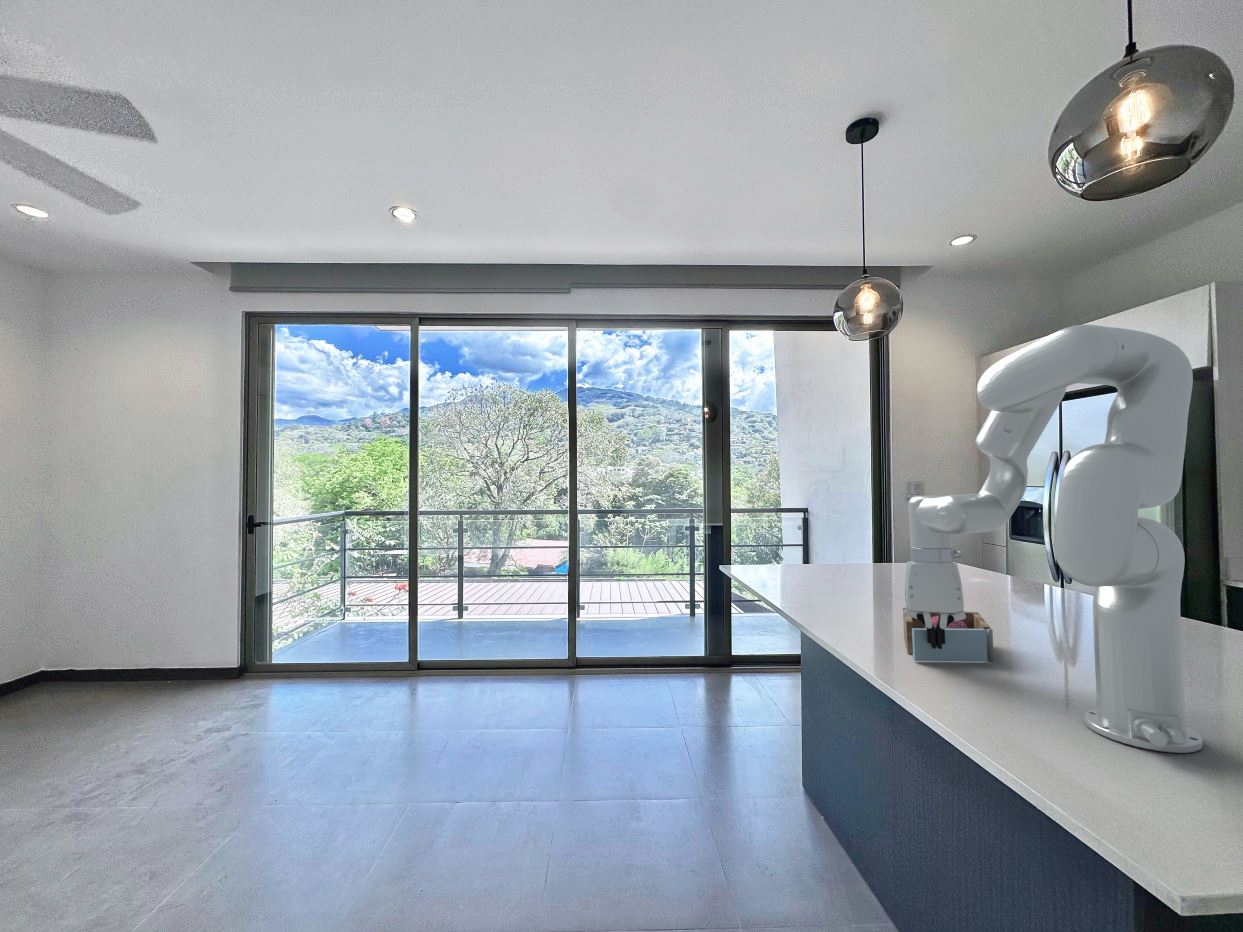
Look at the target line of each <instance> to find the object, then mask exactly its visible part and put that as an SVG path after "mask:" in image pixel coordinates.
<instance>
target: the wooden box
mask: <svg viewBox="0 0 1243 932" xmlns="http://www.w3.org/2000/svg"><path fill="white" fill-rule="evenodd" d="M905 609H906V607H903V608H902V618H903V637H904V638H903V639H904V643H905V644H904V645H905V648H906V653H907V652H908V653H909V654H908V653H907V654H908V655H913V642H912V628H925V625H924V624H923V623H922V622H921V621H920V620H918V619H916V618H912V617H909V616H906V615H905ZM964 612H965V615H966V618H965V619H962V620H961V621H963V623H965V624H966V625H967V627H968V628H967V629H985V630H986V638H987V629H991V627H990V625H989V624H988V623H987V621H986V620H985V619H984V617H982V615H981V614H980V613H979V612H977V611H975V612H973V611H964ZM920 613H922V612H920ZM930 616H931V618H932V617H933V616H939V613H930ZM987 661H988V649H987ZM988 662H989V663H991V662H990V661H988ZM988 662H987V663H988Z"/></svg>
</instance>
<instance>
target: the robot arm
mask: <svg viewBox="0 0 1243 932" xmlns="http://www.w3.org/2000/svg"><path fill="white" fill-rule="evenodd" d="M1193 374H1194V373H1193V367H1192V365H1191V362H1190V360H1189V358H1188V356H1187V355H1186V353H1185V352H1184V351H1183V350H1182V349H1181V348H1180V347H1179V346H1178V345H1177V344H1175V343H1173V342H1172V341H1170V340H1169V339H1166V338H1165V337H1164V338H1163V337H1162V336H1159V335H1156V334H1152V333H1148V332H1144V331H1141V330H1135V329H1128V328H1123V327H1122V328H1120V327H1115V326H1114V327H1112V326H1103V325H1096V324H1076V325H1071V326H1069V327H1065V328H1062V329H1059V330H1057V331H1055V332H1052V333H1051V334H1049V335H1047V336H1045V337H1043V338H1041V339H1039V340H1037V341H1035V342H1033V343H1031V344H1029V345H1027V346H1025V347H1023V348H1021V349H1018V350H1016V351H1015V352H1013V353H1011V354H1009V355H1007V356H1004V357H1003V358H1001V359H1000V360H998V361H996V362H994V364H992V365H991V366H990V367H989V368H987V369H986V370H985V371H984V372H983V373H982V374H981V376H980V378H979V379H978V382H977V386H976V396H977V400H978V401H979V403H980V404H981V406H982V407H984V408H985V409H987V410H988V411H989V410H990V412H989V414H988V415H987V417H986V419H985V421H984V423H983V425H982V426H981V428H980V430H979V432H978V434H977V435H976V438H975V445H976V447H977V448H978V450H979V451H981V452H982V453H983V454H984V455H986V456H987V457H988V459H989V461H990V469H989V472H988V473H989V474H988V475H987V477H986V480H985V482H984V483H983V485H982V487H981V489H980V490H979V492H978V493H965V494H950V495H949V494H948V495H915V496H912V497H910V498H909V501H908V522H909V523H908V524H909V537H910V538H909V542H910V560H909V561H907V562H906V566H905V567H906V568H905V575H904V576H905V577H904V581H905V584H904V585H905V586H904V592H905V593H904V595H905V605H906V606H905V608H906V609H905V615H906V616H909V617H912V618H916V619H918V620H920V621H921V622H922V623H923V624H924V625H925V626H926V629H927V642H928V643H931V647H932V649H935V648H936V645H937V648H939V649H942V644H945V629H946V627H947V626H948V625H949V624H950V623H952V622H953V621H957V620H962V619H965V618H966V615H965V612H966V611H965V609H964V608H965V603H964V601H965V600H964V594H963V585H962V584H963V583H962V579H961V575H960V570H959V566H958V563H957V562H955V559H957V558H962V551H961V550H957V549H955V548H954V547H953V535H965V534H966V535H968V534H973V533H975V534H976V533H977V534H978V533H988V532H994V531H997V530H998V529H1000V528H1002V527H1003V526H1004V525H1005V524H1006V523H1007V522H1008V521H1009V520H1010V518H1011V517H1012V516H1013V514H1014V512H1015V511H1016V510H1017V508H1018V506H1019V504H1020V503H1021V501H1022V499H1023V498H1024V495H1025V494H1026V490H1027V485H1028V477H1029V476H1028V474H1029V469H1028V458H1029V456H1030V454H1031V452H1032V451H1033V449H1034V447H1035V446H1036V444H1037V443H1038V440H1039V439H1040V438H1041V436H1042V434H1043V432H1044V431H1045V429H1046V428H1047V426H1048V424H1049V422H1050V421H1051V419H1052V417H1053V415H1054V414H1055V412H1056V411H1057V409H1058V407H1059V406H1060V403H1061V402H1062V400H1063V398H1064V397H1065V394H1066V392H1067V388H1068V387H1070V386H1073V385H1076V384H1086V385H1087V384H1088V385H1100V386H1101V385H1102V386H1103V385H1104V386H1111V387H1115V388H1116V389H1117V393H1116V396H1115V398H1114V399H1113V401H1112V403H1111V405H1110V407H1109V410H1108V414H1107V419H1106V420H1107V422H1106V433H1105V439H1104V443H1098V444H1093V445H1090V446H1087V447H1085V448H1083V449H1080V450H1079V451H1077V452H1076V453H1075V454H1074V455H1073V456H1071V458H1070V459H1069V460H1068V461H1067V463H1066V465H1065V466H1064V468H1063V471H1062V473H1061V474H1060V475H1061V476H1060V480H1059V487H1058V495H1057V497H1058V498H1057V506H1056V514H1055V516H1056V517H1055V525H1054V537H1053V549H1054V555H1055V560H1056V562H1057V564H1058V566H1059V568H1060V570H1062V572H1063V573H1065V575H1066V576H1067V577H1069V578H1070V579H1071V580H1073V581H1075V582H1077V583H1078V584H1081V585H1085V586H1088V587H1094V592H1093V596H1092V597H1093V598H1092V628H1093V629H1092V630H1093V648H1094V649H1093V650H1094V652H1093V653H1094V665H1095V666H1094V669H1095V686H1096V687H1095V688H1096V689H1095V691H1096V692H1095V693H1096V694H1095V695H1096V707H1097V708H1094V709H1090V710H1087V711H1086V712H1085V713H1084V723H1085V724H1086V726H1087V727H1088V728H1089V729H1091V731H1094V732H1095V733H1098V735H1101V736H1104V737H1105V738H1108V739H1111V740H1112V741H1116V742H1119V743H1121V744H1124V745H1125V744H1126V745H1128V746H1133V747H1136V748H1141V749H1146V750H1151V751H1156V752H1157V751H1158V752H1164V753H1177V754H1180V753H1181V754H1184V753H1185V754H1186V753H1194V752H1198V751H1199V750H1201V749H1202V748H1203V745H1204V743H1203V741H1204V740H1203V738H1202V736H1201V734H1200V733H1198V732H1197V731H1196V730H1194V729H1192V728H1191V727H1188V726H1187V723H1186V705H1185V690H1184V689H1185V688H1184V687H1185V686H1184V668H1183V653H1182V651H1183V649H1182V625H1181V623H1182V621H1181V594H1182V585H1183V584H1182V583H1183V579H1184V573H1185V572H1184V570H1185V551H1184V547H1183V544H1182V542H1181V540H1180V539H1179V537H1178V535H1177V534H1176V532H1174V531H1173V530H1172V529H1171V528H1169V527H1168V526H1167V525H1165V524H1163V523H1161V522H1159V521H1156V520H1155V519H1151V518H1147V517H1143V516H1139V512H1140V511H1139V510H1142V509H1151V508H1156V507H1160V506H1163V505H1165V504H1167V503H1169V502H1171V501H1172V500H1173V499H1174V498H1175V497H1176V496H1177V495H1178V493H1179V491H1180V488H1181V484H1182V479H1183V470H1184V459H1185V452H1186V442H1187V433H1188V419H1189V411H1190V410H1189V409H1190V405H1191V398H1192V392H1193V391H1192V390H1193V382H1194V378H1193V376H1194V375H1193ZM920 612H922V613H920ZM930 613H939V617H938V623H937V626H936V627H935V628H934V625H933V623H932V621H931V616H930Z"/></svg>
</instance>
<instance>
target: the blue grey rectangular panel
mask: <svg viewBox="0 0 1243 932" xmlns="http://www.w3.org/2000/svg"><path fill="white" fill-rule="evenodd" d="M993 632H994V631H993V629H992V628H990V629H987V638H986V630H985V629H945V644H942V649H939V648H937V645H936V648H935V649H932V647H931V643H928V642H927V629H926V628H912V642H913V654H912V660H913V661H915V662H969V663H970V662H974V663H976V662H977V663H978V662H979V663H981V662H982V663H988V661H990V662H989V663H991V662H992V663H993V662H994V661H995V658H994V653H995V652H994V635H993ZM987 649H988V661H987Z"/></svg>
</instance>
